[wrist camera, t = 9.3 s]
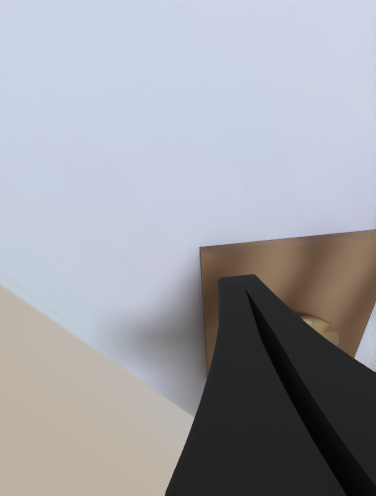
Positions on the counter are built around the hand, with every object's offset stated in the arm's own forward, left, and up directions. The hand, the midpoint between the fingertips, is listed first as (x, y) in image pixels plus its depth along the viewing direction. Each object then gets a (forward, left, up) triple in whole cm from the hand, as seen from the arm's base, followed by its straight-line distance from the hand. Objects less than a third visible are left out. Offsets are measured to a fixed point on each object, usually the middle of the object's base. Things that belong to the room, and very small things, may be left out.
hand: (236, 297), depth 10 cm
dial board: (-7, +12, -9) cm, 16 cm away
